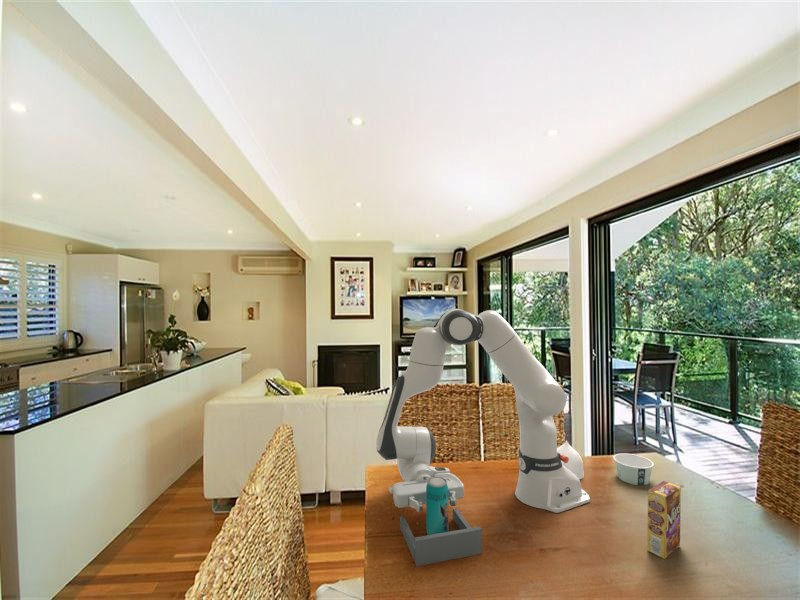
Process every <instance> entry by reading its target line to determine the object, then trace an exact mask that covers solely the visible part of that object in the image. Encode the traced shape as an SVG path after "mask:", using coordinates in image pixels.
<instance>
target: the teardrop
mask: <svg viewBox="0 0 800 600" xmlns="http://www.w3.org/2000/svg"><path fill="white" fill-rule="evenodd" d="M557 452H558V453H560V455H565V456H567V457H568V458H569V461H568V463H564V462H563V461H561V462H562V465H564V466H565V467H566V468H567V469H569V470H570V471H571V472H572V473H574V474H575V475H576V476H577V477H578V479H579V480H583V478H584V477H585V471H584V463H583V458H582V457H581V455H580V454H579V453H578V451H577V450H575V449H574V447H572V445H570V443H569V441H568V440H565V442H564V443H563V444H562V445H560V446H557Z"/></svg>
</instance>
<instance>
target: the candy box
mask: <svg viewBox="0 0 800 600" xmlns="http://www.w3.org/2000/svg"><path fill="white" fill-rule="evenodd" d="M647 491H648V492H647V530H646V531H647V533H646V534H647V538H646V539H647V542H646V550H647V552H650V553H651V554H654V555H656V556H657V557H659V558H661V559H663V560H665V559H667V557H669V556H670V555H671V554H672V553H673V552H675V551H676V550H677V549H678V548H679V546H680V547H681V512H682V511H681V500H682V499H681V498H682V497H681V495H682V494H681V493H682V487H681V486H680V485H677V484H674V483H672V482H668V481H665V480H663V481H661V482H660V483H658V484H656V485H655V486H653V487H652V488H649V489H648V490H647Z"/></svg>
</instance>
